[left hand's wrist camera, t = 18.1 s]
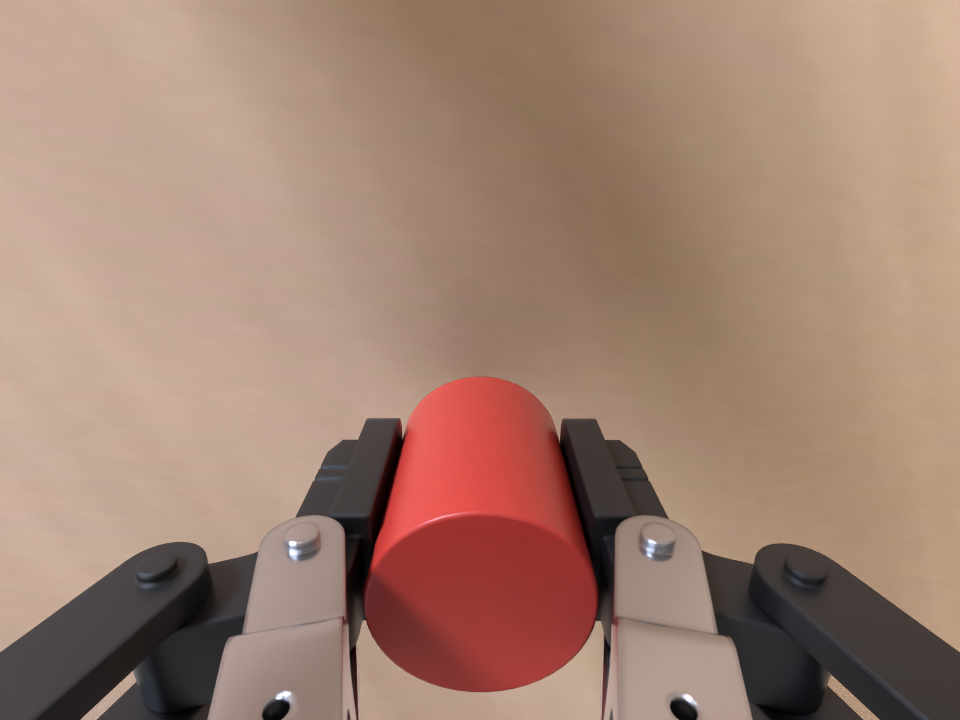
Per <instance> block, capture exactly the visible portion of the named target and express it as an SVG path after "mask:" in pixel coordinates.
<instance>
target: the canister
mask: <svg viewBox="0 0 960 720" xmlns="http://www.w3.org/2000/svg"><path fill="white" fill-rule="evenodd" d="M363 607H364V614H365V618H366V622H367V625H368V628H369V630H370V632H371V635H372V637H373V638H374V640H375V641H376V643H377V645H378V646H379V647H380V649H381V650H382V651H383V652H384V653H385V655H386V656H387V657H388V658H389V659H391V660H392V661H393V662H394V663H395V664H396V665H398V666H399V667H400V668H402V669H403V670H405V671H406V672H408V673H409V674H411V675H413V676H415V677H417V678H419V679H421V680H423V681H426V682H428V683H430V684H434V685H437V686H440V687H443V688H448V689H453V690H458V691H467V692H494V691H503V690H509V689H514V688H518V687H522V686H525V685H528V684H531V683H534V682H536V681H539V680H541V679H543V678H545V677H547V676H549V675H551V674H553V673H554V672H556V671H557V670H559V669H560V668H562V667H563V666H564V665H566V664H567V663H568V662H569V661H570V660H571V659H573V658H574V656H575V655H576V654H577V653H578V652H579V651H580V650H581V649H582V647H583V646H584V644H585V643H586V641H587V640H588V638H589V636H590V634H591V632H592V630H593V628H594V625H595V621H596V618H597V614H598V607H599V590H598V586H597V581H596V577H595V573H594V570H593V566H592V562H591V558H590V555H589V551H588V547H587V544H586V540H585V536H584V532H583V529H582V525H581V521H580V517H579V514H578V510H577V506H576V502H575V499H574V495H573V491H572V487H571V484H570V480H569V476H568V473H567V469H566V465H565V461H564V458H563V454H562V450H561V446H560V443H559V439H558V435H557V431H556V428H555V425H554V422H553V420H552V417H551V416H550V414H549V412H548V410H547V409H546V408H545V406H544V405H543V404H542V403H541V402H540V401H539V400H538V399H537V398H536V397H535V396H534V395H533V394H531V393H530V392H529V391H527V390H526V389H524V388H522V387H520V386H519V385H517V384H514V383H512V382H509V381H506V380H502V379H498V378H492V377H469V378H463V379H459V380H455V381H452V382H450V383H447V384H445V385H443V386H441V387H439V388H437V389H435V390H434V391H433V392H431V393H430V394H428V395H427V396H426V397H425V398H424V399H423V400H422V401H421V402H420V403H419V404H418V405H417V407H416V408H415V409H414V411H413V413H412V414H411V416H410V418H409V420H408V423H407V425H406V429H405V433H404V437H403V440H402V444H401V448H400V452H399V456H398V460H397V463H396V467H395V471H394V475H393V479H392V482H391V486H390V490H389V494H388V498H387V502H386V505H385V509H384V513H383V517H382V521H381V524H380V528H379V532H378V536H377V540H376V543H375V547H374V551H373V555H372V559H371V563H370V566H369V570H368V574H367V578H366V582H365V585H364V593H363Z"/></svg>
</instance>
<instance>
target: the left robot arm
mask: <svg viewBox="0 0 960 720" xmlns="http://www.w3.org/2000/svg"><path fill="white" fill-rule="evenodd" d="M402 440H403V439H402V425H401V420H400V418H368V419H367V420H366V422H365V424H364V427H363V429H362V432H361V434H360V437H359V439H358V440H342V441H341V442H340V443H339V444H337V445H336V446H335V447H334V448H332V449H331V450H330V451H328V453H327V455H326V457H325V459H324V461H323V463H322V465H321V469H319V471H318V473H317V475H316V477H315V481H313V483H312V485H311V487H310V489H309V491H308V493H307V495H306V497H305V499H304V501H303V503H302V505H301V507H300V509H299V511H298V513H297V515H296V517H295V518H294V519H290V520H288V521H286V522H283V523H281V524H280V525H278V526H276V527H275V528H273V529H272V530H271V531H270V532H269V533H267V535H266V536H265V537H264V538H263V540H262V542H261V544H260V547H259V551H258V552H256V553H253V554H250V555H247V556H243V557H239V558H234V559H230V560H225V561H221V562H216V563H212V564H208V560H207V556H206V553H205V551H204V550H203V549H202V548H201V547H200V546H198V545H196V544H193V543H188V542H173V543H166V544H162V545H158V546H155V547H152V548H149V549H147V550H145V551H142V552H140V553H138V554H137V555H135V556H133V557H131V558H130V559H128V560H127V561H125V562H124V563H123V564H121V565H120V566H119V567H117V568H116V569H114V570H113V571H112V572H110V573H109V574H108V575H106V576H105V577H103V578H102V579H101V580H99V581H98V582H97V583H95V584H94V585H92V586H91V587H90V588H88V589H87V590H86V591H84V592H83V593H81V594H80V595H79V596H77V597H76V598H75V599H73V600H72V601H70V602H69V603H68V604H66V605H65V606H64V607H62V608H61V609H59V610H58V611H57V612H55V613H54V614H53V615H51V616H50V617H48V618H47V619H46V620H44V621H43V622H42V623H40V624H39V625H37V626H36V627H35V628H33V629H32V630H31V631H29V632H28V633H26V634H25V635H24V636H22V637H21V638H20V639H18V640H17V641H15V642H14V643H13V644H11V645H10V646H9V647H7V648H6V649H4V650H3V651H2V652H0V720H80V719H81V718H82V717H83V716H84V715H86V714H87V713H88V712H89V711H90V710H91V709H92V708H93V707H94V706H95V705H96V704H97V703H98V702H100V701H101V700H102V699H103V698H104V697H105V696H106V695H107V694H108V693H109V692H110V691H111V690H112V689H113V688H115V687H116V686H117V685H118V684H119V683H120V682H121V681H122V680H123V679H124V678H125V677H126V676H127V675H129V674H130V673H131V672H132V671H133V672H134V675H135V678H136V681H137V682H136V683H135V684H134V685H133V686H132V687H131V688H130V689H129V690H127V691H126V692H125V693H124V694H123V695H122V696H121V697H120V698H119V699H118V700H117V701H116V702H115V703H114V704H113V705H112V706H111V707H110V708H109V709H108V710H107V711H106V712H104V713H103V714H102V715H101V716H100V717H99V718H98V719H97V720H360V696H359V667H358V648H357V640H358V637H359V633H360V629H361V625H362V621H363V620H366V618H365V614H364V607H363V593H364V585H365V582H366V578H367V574H368V570H369V566H370V563H371V559H372V555H373V551H374V547H375V543H376V540H377V536H378V532H379V528H380V524H381V521H382V517H383V513H384V509H385V505H386V502H387V498H388V494H389V490H390V486H391V482H392V479H393V475H394V471H395V467H396V463H397V460H398V456H399V452H400V448H401V444H402ZM560 446H561V450H562V454H563V458H564V461H565V465H566V469H567V473H568V476H569V480H570V484H571V487H572V491H573V495H574V499H575V502H576V506H577V510H578V514H579V517H580V521H581V525H582V529H583V532H584V536H585V540H586V544H587V547H588V551H589V555H590V558H591V562H592V566H593V570H594V573H595V577H596V581H597V586H598V590H599V607H598V614H597V618H596V621H601V622H602V626H603V630H604V639H603V648H602V667H601V696H600V720H863V719H862V718H861V717H860V716H859V715H858V714H857V713H856V712H855V711H853V710H852V709H851V708H850V707H849V706H848V705H847V704H846V703H845V702H844V701H843V700H842V699H841V698H840V697H839V696H838V695H837V694H836V693H835V692H834V691H833V690H832V689H830V688H829V687H828V686H827V685H828V682H829V678H830V675H833V676H834V677H835V678H836V679H837V680H838V681H839V682H840V683H841V684H842V685H843V686H844V687H845V688H847V689H848V690H849V691H850V692H851V693H852V694H853V695H854V696H855V697H856V698H857V699H858V700H859V701H860V702H862V703H863V704H864V705H865V706H866V707H867V708H868V709H869V710H870V711H871V712H872V713H873V714H874V715H876V716H877V717H878V718H879V719H880V720H960V652H958V651H957V650H956V649H954V648H953V647H951V646H950V645H949V644H947V643H946V642H945V641H943V640H942V639H940V638H939V637H938V636H936V635H935V634H934V633H932V632H931V631H929V630H928V629H927V628H925V627H924V626H923V625H921V624H920V623H918V622H917V621H916V620H914V619H913V618H912V617H910V616H909V615H907V614H906V613H905V612H903V611H902V610H901V609H899V608H898V607H896V606H895V605H894V604H892V603H891V602H890V601H888V600H887V599H885V598H884V597H883V596H881V595H880V594H879V593H877V592H876V591H874V590H873V589H872V588H870V587H869V586H868V585H866V584H865V583H863V582H862V581H861V580H859V579H858V578H857V577H855V576H854V575H852V574H851V573H850V572H848V571H847V570H846V569H844V568H843V567H842V566H840V565H839V564H837V563H836V562H834V561H833V560H831V559H830V558H828V557H826V556H825V555H823V554H821V553H819V552H816V551H814V550H811V549H808V548H806V547H802V546H798V545H793V544H782V543H780V544H771V545H767V546H765V547H763V548H761V549H760V550H759V551H758V552H757V554H756V557H755V561H754V564H750V563H745V562H741V561H736V560H732V559H727V558H723V557H719V556H715V555H712V554H709V553H707V552H704V551H702V550H701V547H700V544H699V542H698V540H697V538H696V537H695V536H694V535H693V533H691V532H690V531H689V530H688V529H687V528H685V527H684V526H682V525H680V524H679V523H677V522H674V521H672V520H670V519H668V517H667V515H666V513H665V511H664V509H663V507H662V505H661V503H660V501H659V499H658V497H657V495H656V493H655V491H654V489H653V487H652V485H651V483H650V481H648V477H647V475H646V473H645V471H644V469H642V465H641V463H640V461H639V459H638V457H637V455H636V453H635V452H634V451H633V450H632V449H630V448H629V447H628V446H626V445H625V444H624V443H623V442H621V441H620V440H605V439H604V437H603V435H602V432H601V430H600V427H599V425H598V423H597V420H596V419H563V420H562V423H561V433H560Z"/></svg>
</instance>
